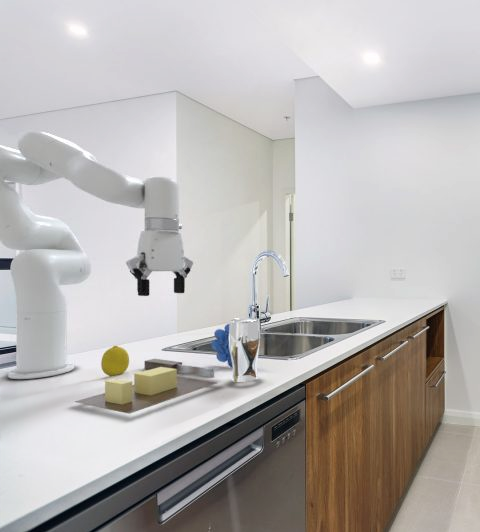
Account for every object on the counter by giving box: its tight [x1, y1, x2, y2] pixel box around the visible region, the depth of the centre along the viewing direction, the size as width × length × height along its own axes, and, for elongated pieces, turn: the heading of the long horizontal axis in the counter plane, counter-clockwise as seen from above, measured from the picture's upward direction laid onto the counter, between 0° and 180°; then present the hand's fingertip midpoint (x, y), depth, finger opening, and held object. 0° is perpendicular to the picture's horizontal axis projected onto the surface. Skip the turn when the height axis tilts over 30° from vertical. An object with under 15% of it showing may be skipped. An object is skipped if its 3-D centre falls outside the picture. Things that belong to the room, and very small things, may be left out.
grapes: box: [210, 323, 233, 369], centre depth 106 cm, size 12×7×12 cm, turn 108°
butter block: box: [133, 367, 178, 396], centre depth 84 cm, size 5×6×4 cm
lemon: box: [100, 345, 130, 377], centre depth 97 cm, size 6×6×8 cm
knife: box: [144, 358, 215, 378], centre depth 99 cm, size 22×3×3 cm, turn 68°
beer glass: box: [229, 317, 262, 383], centre depth 93 cm, size 7×7×15 cm
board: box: [74, 376, 217, 415], centre depth 84 cm, size 16×20×1 cm
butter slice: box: [104, 378, 133, 405], centre depth 77 cm, size 5×2×4 cm, turn 68°
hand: (162, 294), depth 101 cm, fingers open, 9 cm apart
